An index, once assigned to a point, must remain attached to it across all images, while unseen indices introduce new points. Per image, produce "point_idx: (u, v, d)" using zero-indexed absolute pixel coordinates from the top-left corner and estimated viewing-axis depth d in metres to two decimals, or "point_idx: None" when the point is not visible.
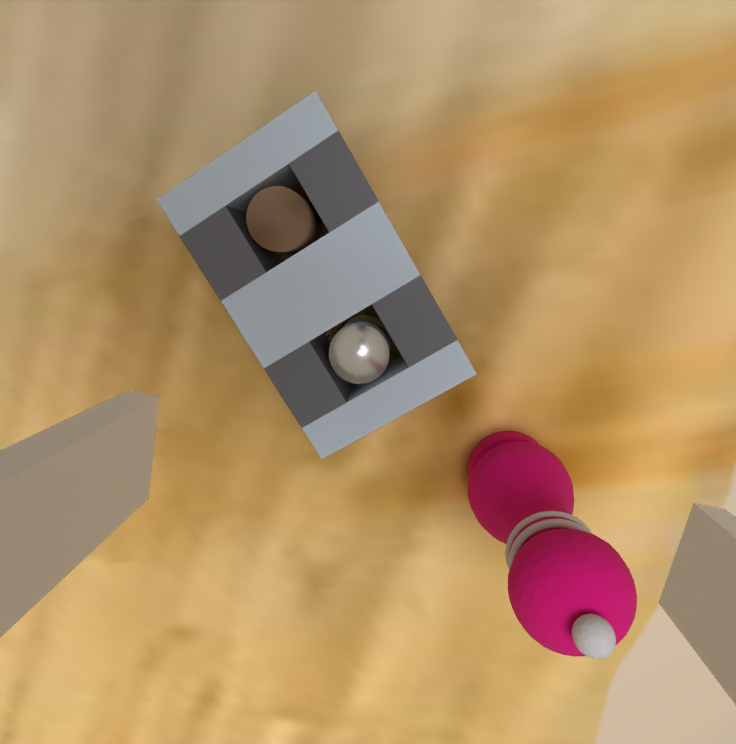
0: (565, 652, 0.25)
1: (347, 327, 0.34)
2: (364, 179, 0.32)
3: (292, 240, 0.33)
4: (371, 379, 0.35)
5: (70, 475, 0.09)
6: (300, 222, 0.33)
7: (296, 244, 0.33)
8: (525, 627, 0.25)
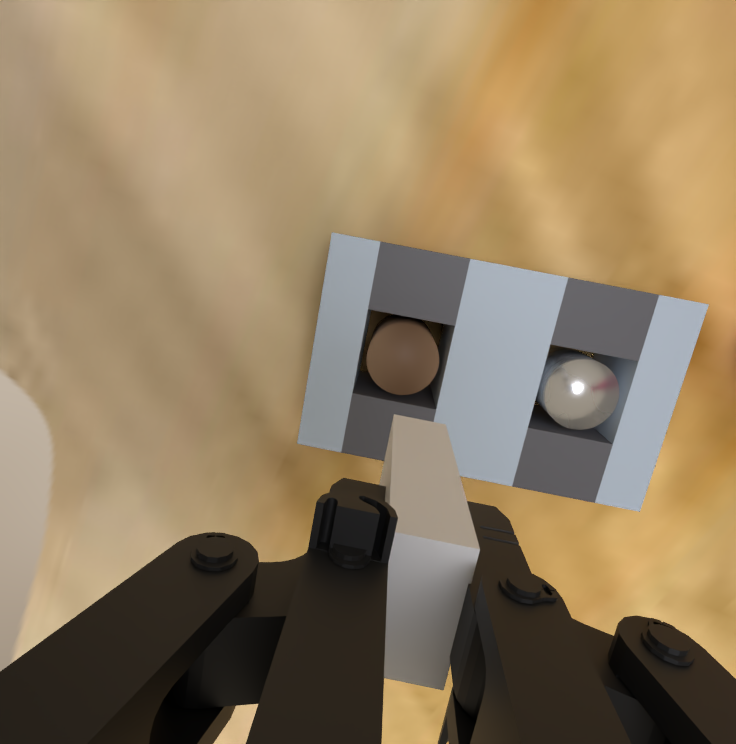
0: None
1: (548, 383, 0.29)
2: (440, 254, 0.27)
3: (431, 362, 0.29)
4: (614, 404, 0.29)
5: None
6: (423, 343, 0.28)
7: (437, 363, 0.29)
8: None
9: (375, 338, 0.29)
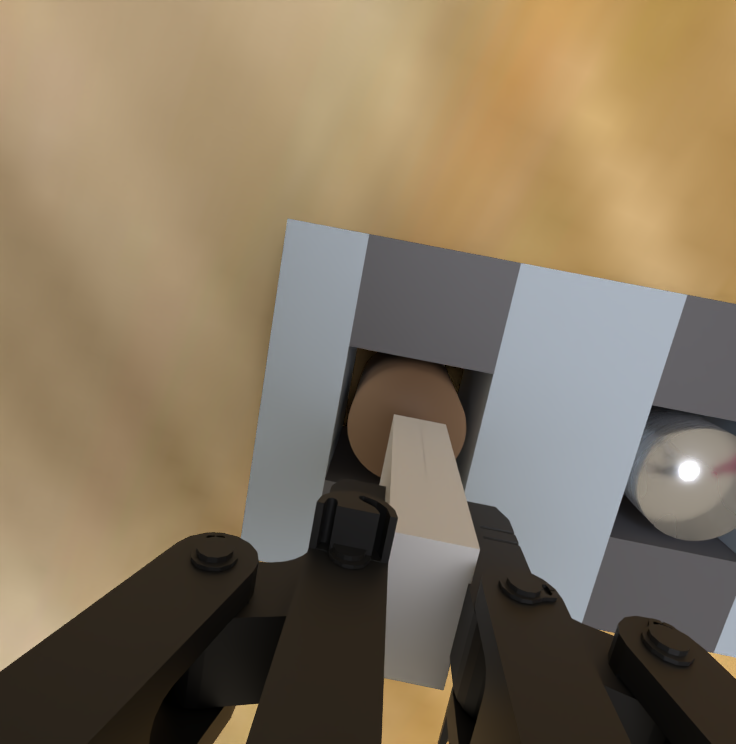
0: None
1: (646, 467, 0.17)
2: (470, 256, 0.16)
3: (453, 433, 0.18)
4: None
5: None
6: (440, 401, 0.17)
7: (463, 433, 0.18)
8: None
9: (361, 393, 0.17)
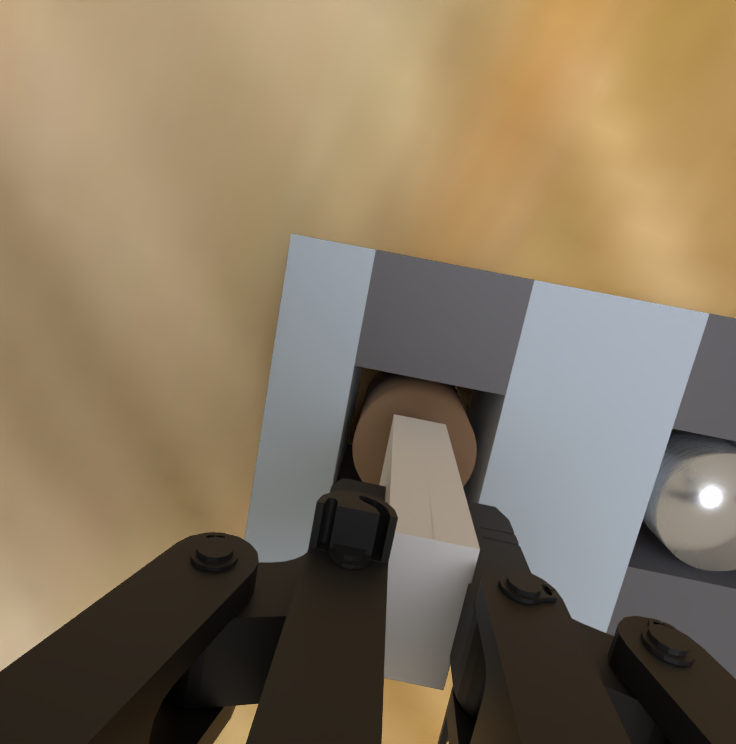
0: None
1: (666, 494, 0.17)
2: (481, 272, 0.16)
3: (462, 456, 0.17)
4: None
5: None
6: (449, 423, 0.17)
7: (474, 457, 0.17)
8: None
9: (367, 414, 0.17)
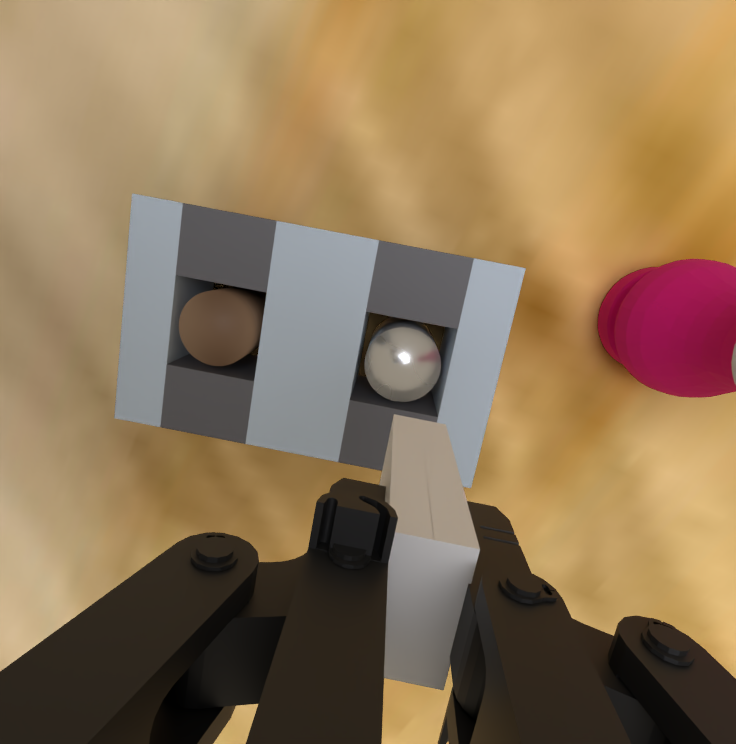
0: None
1: (367, 353, 0.27)
2: (245, 216, 0.26)
3: (245, 331, 0.27)
4: (437, 374, 0.27)
5: None
6: (235, 311, 0.27)
7: (252, 332, 0.27)
8: None
9: (186, 306, 0.27)
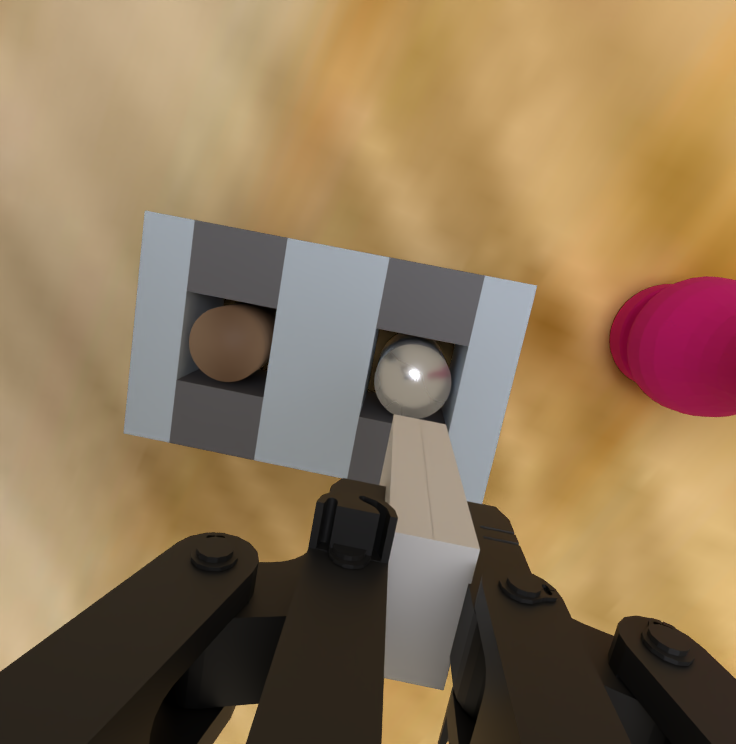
0: None
1: (377, 370, 0.27)
2: (257, 233, 0.26)
3: (255, 348, 0.27)
4: (447, 392, 0.27)
5: None
6: (245, 327, 0.27)
7: (262, 348, 0.27)
8: None
9: (196, 322, 0.27)
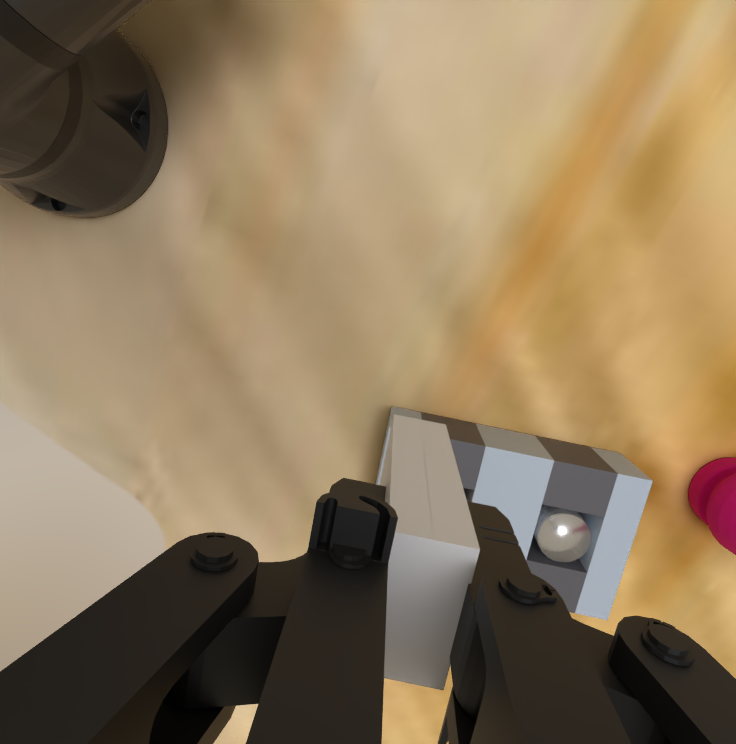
0: None
1: (541, 530, 0.40)
2: (464, 443, 0.39)
3: None
4: (588, 545, 0.40)
5: None
6: None
7: None
8: None
9: None
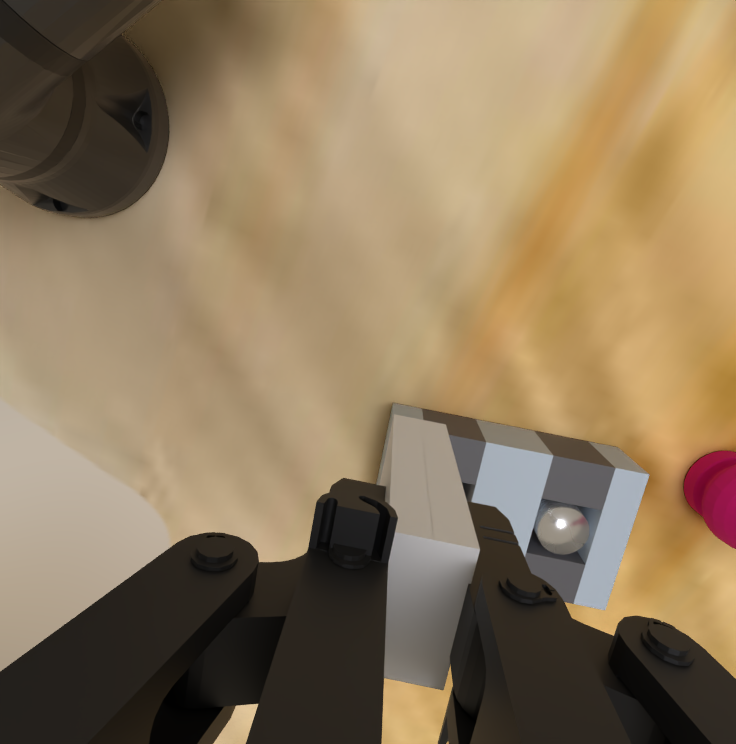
0: None
1: (540, 523, 0.41)
2: (466, 439, 0.40)
3: None
4: (586, 538, 0.41)
5: None
6: None
7: None
8: None
9: None
